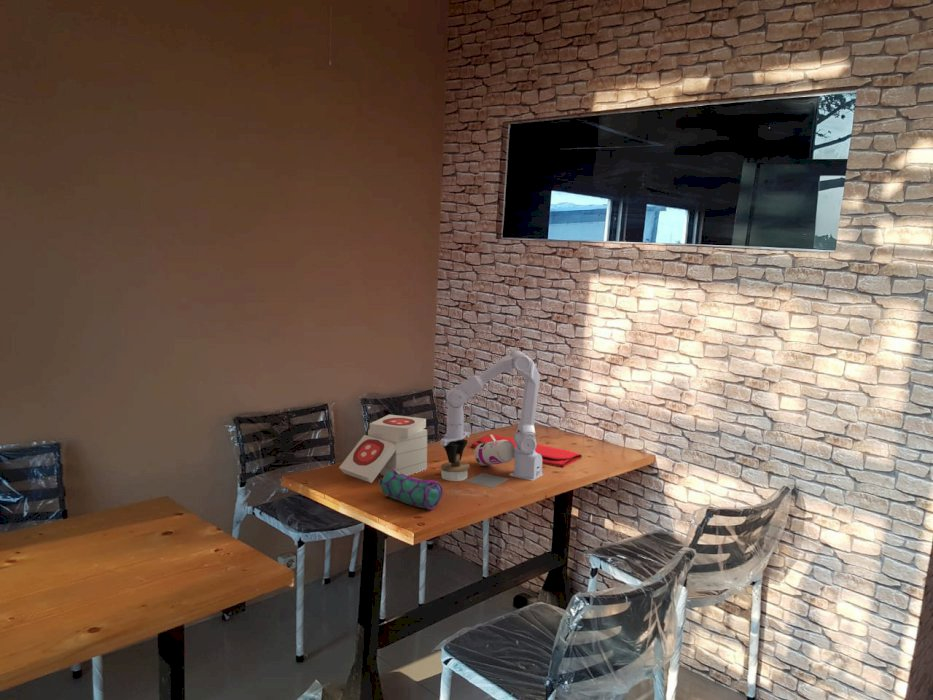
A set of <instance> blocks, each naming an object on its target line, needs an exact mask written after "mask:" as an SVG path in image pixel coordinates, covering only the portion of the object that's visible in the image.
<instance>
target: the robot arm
mask: <svg viewBox="0 0 933 700" xmlns="http://www.w3.org/2000/svg"><path fill="white" fill-rule="evenodd" d="M513 369H514V370H513ZM514 371H516V372H517V373H519V374H520V375H521V376H522V377H523V379H524V384H523V393H522V400H521V401H522V403H521V411H520V417H519V424H518V425H517V429H516V431H515V433H514V436H513V439H514V442H515V443H516V444H517V446H516V448H515V454H514V458H513V459H514V460H513V461H514V462H513V472H511V473H509V474H508V475H509V476H511V477H514V478H519V479H523V480H527V481H535V480H536V479H538V478H540V477H542V476H544V473H543V463H542V456H541V455H540V454H538V453H536V452H535V449H536V446H537V444H538V443H537V439H536V430H535V422H536V415H537V414H536V412H537V406H538V405H537V403H538V397H539V396H538V395H539V388H540V378H541V375H540V373H539V371H538V369H537V367H536V365H535V362H534V360H533V359H531V358H530V356H528V355H527V354H525V353H524V352H523V351H521V350H513V351H511V352H510V353H508V354H507V355H504V356H503V357H502V358H500V359H499V360H498V361H497V362H495V363H494V364H492V365H491V366H490V367H488V368H487V369H486V370H484V371H483V372H482V373H481V374H479V375H475V374H474V375H468V376H467V377H466V379H465V380H464V381H462V383H460V384H458V383H457V384H456V385H455V387H452V388H450V389H449V390H448V391H447V393H446V395H445V398H446V401H447V406H446V407H447V410H446V433H444V437H443V438H441V439H440V441H439V445H440V446H442V447H443V448H444V450H445V452H446V456H447V460H448V462H449V463H455V459H456V453H458V454H460V462H462V461H461V460H462V457H463V453H464V450H465V448H466V446H467V445H468V438H470V431H466V430H464V427H465V426H464V424H465V421H464V420H465V419H464V418H465V417H464V415H465V413H464V411H465V410H464V405H465V403H466V400H469V399H470V398H472V397H473V396H475V395H476V394H478V393H479V392H480V391H482V390H483V389H484V385H485V384H486V383H487V382H490V381H491V380H492V379H494V378H496V377H497V376H499V375H502V373H513V372H514ZM465 438H467V439H465Z"/></svg>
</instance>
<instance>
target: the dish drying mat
mask: <svg viewBox="0 0 933 700" xmlns="http://www.w3.org/2000/svg"><path fill="white" fill-rule="evenodd" d="M498 440H508V441H510V442H511V443H512V444H513V445H514V448H516V446H517V444H516V443H515V442H514V438H511V437H508V436H503V435H499V434H496V433H490V434H487V435H484V436H481V437H479V439H478V440H477V441H476V440H475V441H473V442H472V443H471V447H473V448H472V449H475V448H476V447H477V445H479V444H481V443H486V442H492V441H498ZM535 452H536V453H538V454H540V455H541V456H542V464H543V463H545V464H544V465H548V464H550V465H549V466H553V465H555V466H554V467H558V466H560V468H563V467H564V468H565V467H567V466H569V465H571V464H572V463H574V462H577V461H579V460H581V459H582V457H583V455H582V454H581V453H577V452H574V451H570V450H569V449H568V450H566V449H563V448H562V449H561V448H557V447H551V446H546V445H542V444H538V443H537V446H536V449H535Z"/></svg>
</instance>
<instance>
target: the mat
mask: <svg viewBox="0 0 933 700" xmlns="http://www.w3.org/2000/svg"><path fill="white" fill-rule="evenodd" d="M509 480H510V478H506V477H502V476H497V475H494V474H489V473H485V472H482V473H479V474H477V475H475V476H473V477H470V478H469V479H468V478H467V479H465V482H466V483H470V484H475V485H479V486H483V487H488V488H491V489H493V488H495V487H496V486H499V485H501V484H503V483H505V482H507V481H509Z"/></svg>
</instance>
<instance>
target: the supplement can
mask: <svg viewBox="0 0 933 700" xmlns="http://www.w3.org/2000/svg"><path fill="white" fill-rule="evenodd" d="M514 454H515V448H514V445H513V444H512V443H511V442H510V441H508V440H498V441H492V442H486V443H481V444H479V445H477V447H476V448H474V458H475V459H474V460H475V461H476V462H477V463H478V465H480V466H484V467H485V466H494V465H500V464H501V465H502V464H508V463H509V462H510V463H511V461H512V460H513V459H514Z"/></svg>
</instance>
